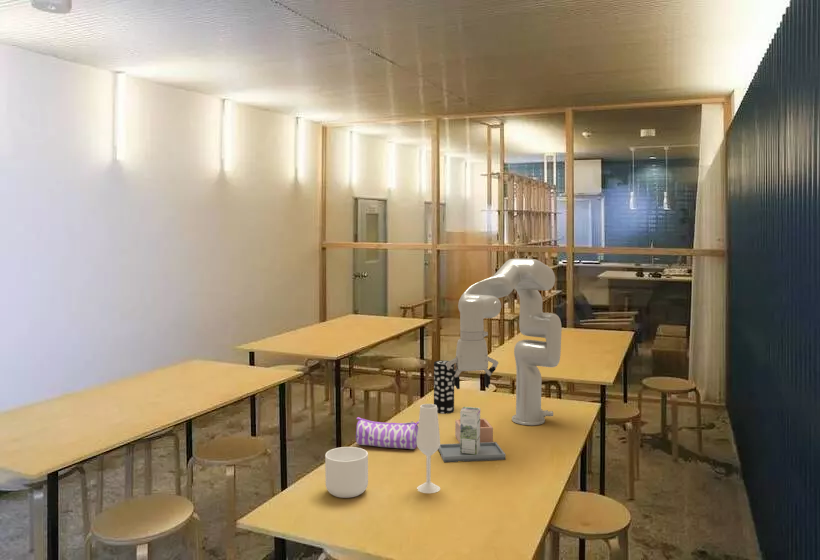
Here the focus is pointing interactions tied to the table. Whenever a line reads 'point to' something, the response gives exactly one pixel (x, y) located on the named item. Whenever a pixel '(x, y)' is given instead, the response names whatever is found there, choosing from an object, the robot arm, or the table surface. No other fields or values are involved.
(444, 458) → the tray
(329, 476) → the handleless ceramic cup
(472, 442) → the syrup box
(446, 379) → the spotted tube
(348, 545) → the table surface
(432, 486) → the champagne flute
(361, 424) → the pencil case
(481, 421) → the holder
